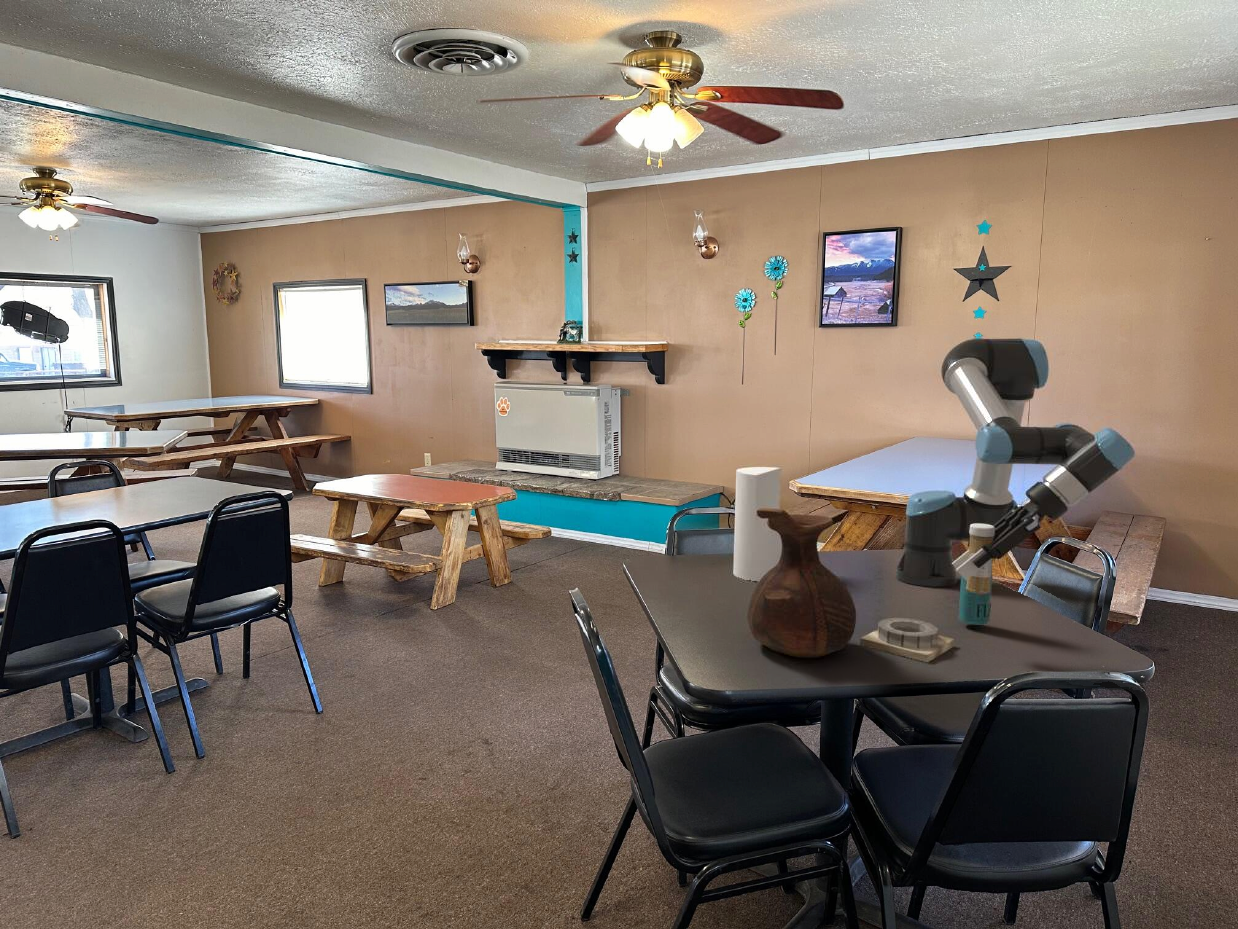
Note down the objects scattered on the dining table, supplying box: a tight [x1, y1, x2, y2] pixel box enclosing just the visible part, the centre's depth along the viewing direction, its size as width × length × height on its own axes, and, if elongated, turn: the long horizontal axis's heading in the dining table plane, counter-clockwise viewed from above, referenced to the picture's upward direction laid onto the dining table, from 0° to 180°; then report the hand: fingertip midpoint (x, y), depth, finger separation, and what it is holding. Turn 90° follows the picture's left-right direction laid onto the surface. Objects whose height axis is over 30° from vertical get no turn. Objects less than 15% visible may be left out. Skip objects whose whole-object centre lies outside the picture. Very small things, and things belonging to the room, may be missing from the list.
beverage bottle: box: [957, 537, 994, 626], centre depth 183 cm, size 6×7×20 cm
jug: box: [747, 508, 857, 659], centre depth 168 cm, size 22×22×30 cm
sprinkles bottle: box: [966, 523, 995, 594], centre depth 167 cm, size 5×5×14 cm
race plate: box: [859, 617, 955, 663], centre depth 172 cm, size 13×14×4 cm
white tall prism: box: [732, 466, 782, 583], centre depth 225 cm, size 17×17×28 cm
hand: (958, 571), depth 168 cm, fingers closed on sprinkles bottle, 4 cm apart
